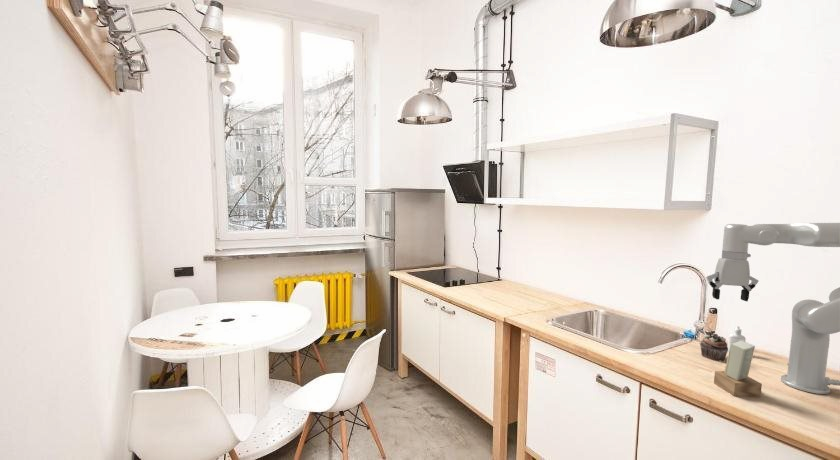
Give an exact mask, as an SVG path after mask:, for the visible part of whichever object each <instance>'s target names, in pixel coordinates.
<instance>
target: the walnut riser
mask: <svg viewBox="0 0 840 460" xmlns="http://www.w3.org/2000/svg"><path fill="white" fill-rule="evenodd" d="M724 372H725V370H722V371H721V370H715V371H714V378H713V384H714V385H715V386H717V387H719V388H720V389H721V390H723V391H725V392H726V393H728V394H729V393H730V394H729V395H731V396H732V397H741V398H742V397H743V398H744V397H746V398H753V397H754V398H761V395H762V389H763V388H762V385H763V384H762V383H761V382H759V381H758V380H755V379H754V378H752V377H750V376H748V377H746V378H743V379H740V380H735V379H733V378H731V377H729V376H727V375H725V374H724Z"/></svg>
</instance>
